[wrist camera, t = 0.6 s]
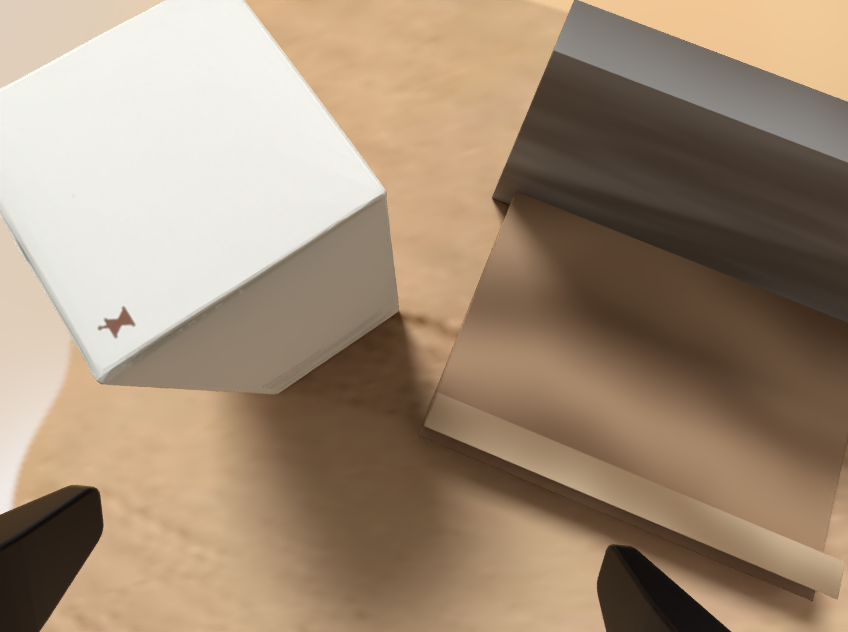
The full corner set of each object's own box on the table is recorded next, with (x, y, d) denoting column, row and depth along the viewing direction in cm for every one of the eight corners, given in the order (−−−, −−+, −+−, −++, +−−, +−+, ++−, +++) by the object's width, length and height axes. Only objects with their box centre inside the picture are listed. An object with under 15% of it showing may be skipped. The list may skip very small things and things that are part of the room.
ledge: (804, 595, 20) (1179, 780, 10) (399, 424, 21) (391, 447, 11) (866, 307, 23) (1211, 238, 13) (505, 165, 24) (574, -1, 14)
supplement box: (404, 311, 22) (400, 198, 10) (274, 398, 21) (82, 398, 9) (323, 196, 23) (224, -43, 11) (196, 274, 22) (-79, 112, 10)
